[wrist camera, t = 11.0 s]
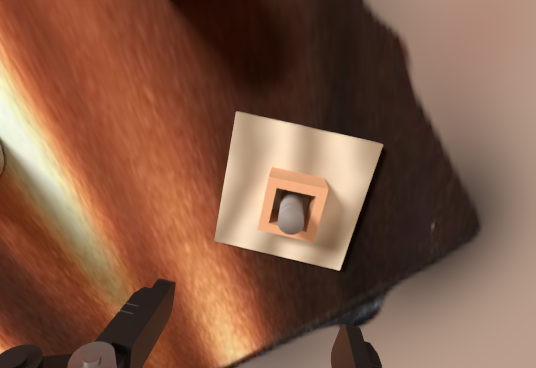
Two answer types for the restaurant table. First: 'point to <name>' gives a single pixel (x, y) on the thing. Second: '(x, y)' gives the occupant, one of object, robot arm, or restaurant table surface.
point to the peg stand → (288, 202)
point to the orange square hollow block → (299, 185)
